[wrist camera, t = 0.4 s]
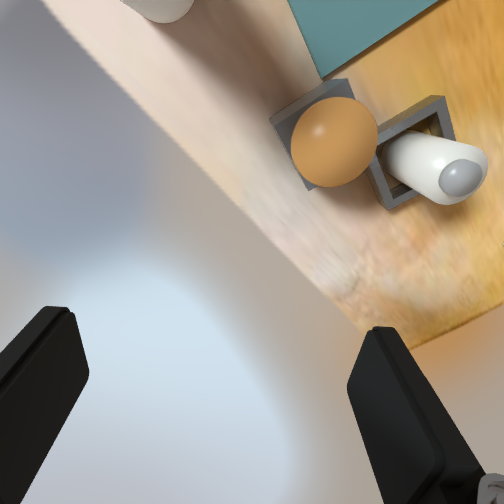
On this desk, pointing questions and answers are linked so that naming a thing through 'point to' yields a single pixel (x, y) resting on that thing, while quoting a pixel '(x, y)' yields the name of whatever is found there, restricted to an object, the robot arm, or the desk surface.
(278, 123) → the plunger housing
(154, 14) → the cylindrical container
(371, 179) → the frame
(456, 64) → the desk surface
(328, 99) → the plunger
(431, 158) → the cylinder
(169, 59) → the desk surface
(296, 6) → the pad
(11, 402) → the robot arm
